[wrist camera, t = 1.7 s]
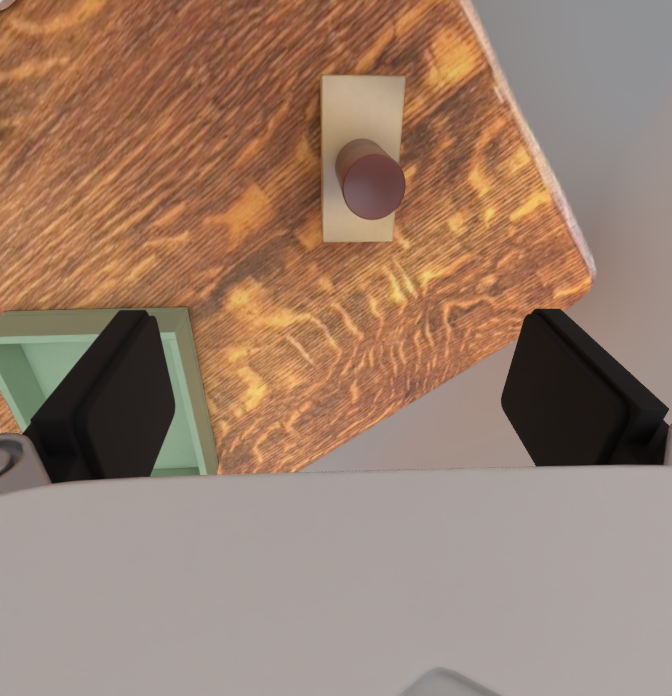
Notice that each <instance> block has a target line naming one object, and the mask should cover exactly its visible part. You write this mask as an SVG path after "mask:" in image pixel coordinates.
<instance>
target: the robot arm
mask: <svg viewBox="0 0 672 696" xmlns="http://www.w3.org/2000/svg"><path fill="white" fill-rule="evenodd" d="M14 1H16V0H0V11H1V10H3V9H6V8H8V7H9V6H10V5H11V4H12V3H13V2H14ZM501 404H502V408H503V411H504V412H505V414H506V416H507V417H508V419H509V421H510V422H511V424H512V426H513V428H514V429H515V431H516V433H517V434H518V436H519V438H520V440H521V441H522V443H523V445H524V446H525V448H526V450H527V451H528V453H529V455H530V456H531V458H532V460H533V462H534V463H535V465H536V466H535V467H491V468H490V467H489V468H446V469H404V470H369V471H368V470H366V471H331V472H292V473H257V474H224V475H191V476H158V477H150V475H151V473H152V470H153V468H154V465H155V463H156V460H157V458H158V455H159V453H160V450H161V448H162V445H163V442H164V440H165V437H166V435H167V432H168V430H169V427H170V425H171V422H172V420H173V417H174V414H175V407H176V406H175V398H174V394H173V389H172V385H171V380H170V376H169V371H168V367H167V363H166V358H165V354H164V349H163V345H162V340H161V336H160V331H159V327H158V322H157V319H156V317H155V316H149V314H148V312H147V311H146V310H120V311H118V312H117V314H116V315H115V316H114V317H113V319H112V320H111V321H110V322H109V323H108V325H107V326H106V327H105V328H104V330H103V331H102V332H101V333H100V335H99V336H98V337H97V338H96V339H95V341H94V342H93V343H92V344H91V346H90V347H89V348H88V349H87V351H86V352H85V353H84V354H83V355H82V357H81V358H80V359H79V360H78V362H77V363H76V364H75V365H74V367H73V368H72V369H71V370H70V371H69V373H68V374H67V375H66V376H65V378H64V379H63V380H62V381H61V383H60V384H59V385H58V386H57V387H56V389H55V390H54V391H53V392H52V394H51V395H50V396H49V397H48V398H47V400H46V401H45V402H44V403H43V405H42V406H41V407H40V408H39V410H38V411H37V412H36V413H35V414H34V416H33V417H32V418H31V419H30V421H31V423H30V425H29V426H28V427H27V428H26V430H25V431H24V432H23V433H22V434H19V433H1V434H0V696H672V424H671V425H670V426H669V425H668V424H667V423H666V422H665V421H664V420H663V419H664V417H665V415H666V414H667V412H668V410H669V408H668V407H667V406H666V405H664V404H663V403H662V402H661V401H660V400H659V399H658V398H657V397H655V395H654V394H652V393H651V392H650V391H649V390H648V389H647V388H646V387H645V386H644V385H643V384H641V383H640V382H639V381H638V380H637V379H636V378H635V377H634V376H633V375H632V374H631V373H630V372H628V371H627V370H626V369H625V368H624V367H623V366H622V365H621V364H620V363H618V361H616V360H615V359H614V358H613V357H612V356H611V355H610V354H609V353H608V352H607V351H606V350H604V349H603V348H602V347H601V346H600V345H599V344H598V343H597V342H596V341H595V340H593V339H592V338H591V337H590V336H589V335H588V334H587V333H586V332H585V331H584V330H583V329H582V328H580V327H579V326H578V325H577V324H576V323H575V322H574V321H573V320H572V319H571V318H569V317H568V316H567V315H566V314H565V313H564V312H563V311H562V310H560V309H535V310H533V312H532V313H531V314H528V315H527V316H526V317H525V319H524V322H523V325H522V328H521V332H520V335H519V339H518V342H517V345H516V349H515V352H514V356H513V359H512V362H511V366H510V369H509V373H508V376H507V380H506V383H505V386H504V390H503V393H502V397H501Z"/></svg>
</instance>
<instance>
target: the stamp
mask: <svg viewBox="0 0 672 696" xmlns="http://www.w3.org/2000/svg"><path fill="white" fill-rule="evenodd" d="M405 87H406V76H405V75H338V74H321V75H320V131H321V232H322V241H323V242H324V243H328V242H392V241H393V232H394V220H395V210H396V208H397V207H398V206H399V205H400V203H401V201H402V199H403V196H404V193H405V177H404V174H403V171H402V169H401V167H400V166H399V159H400V147H401V135H402V123H403V111H404V99H405Z"/></svg>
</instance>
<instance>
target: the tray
mask: <svg viewBox="0 0 672 696" xmlns="http://www.w3.org/2000/svg"><path fill="white" fill-rule="evenodd" d="M120 310H146V311H147V312H148V314H149V316H155V317H156V319H157V322H158V327H159V331H160V336H161V340H162V345H163V349H164V354H165V358H166V363H167V367H168V371H169V376H170V380H171V385H172V389H173V394H174V398H175V406H176V407H175V414H174V417H173V420H172V422H171V425H170V427H169V430H168V432H167V435H166V437H165V440H164V442H163V445H162V448H161V450H160V453H159V455H158V458H157V460H156V463H155V465H154V468H153V470H152V473H151V475H150V477H158V476H191V475H217V470H218V466H219V462H218V458H217V453H216V448H215V443H214V438H213V433H212V428H211V423H210V418H209V413H208V408H207V403H206V398H205V393H204V388H203V383H202V378H201V373H200V368H199V363H198V358H197V353H196V348H195V343H194V338H193V333H192V328H191V323H190V318H189V313H188V308H187V307H162V308H118V309H74V310H29V311H5V312H3V313H2V314H1V315H0V391H1V393H2V395H3V397H4V399H5V400H6V402H7V404H8V406H9V408H10V410H11V412H12V414H13V416H14V418H15V419H16V421H17V423H18V425H19V427H20V429H21V431H22V433H23V432H24V431H25V430H26V428H27V427H28V426H29V425H30V423H31V421H30V419H31V418H32V417H33V416H34V414H35V413H36V412H37V411H38V410H39V408H40V407H41V406H42V405H43V403H44V402H45V401H46V400H47V398H48V397H49V396H50V395H51V394H52V392H53V391H54V390H55V389H56V387H57V386H58V385H59V384H60V383H61V381H62V380H63V379H64V378H65V376H66V375H67V374H68V373H69V371H70V370H71V369H72V368H73V367H74V365H75V364H76V363H77V362H78V360H79V359H80V358H81V357H82V355H83V354H84V353H85V352H86V351H87V349H88V348H89V347H90V346H91V344H92V343H93V342H94V341H95V339H96V338H97V337H98V336H99V335H100V333H101V332H102V331H103V330H104V328H105V327H106V326H107V325H108V323H109V322H110V321H111V320H112V319H113V317H114V316H115V315H116V314H117V312H118V311H120Z"/></svg>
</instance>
